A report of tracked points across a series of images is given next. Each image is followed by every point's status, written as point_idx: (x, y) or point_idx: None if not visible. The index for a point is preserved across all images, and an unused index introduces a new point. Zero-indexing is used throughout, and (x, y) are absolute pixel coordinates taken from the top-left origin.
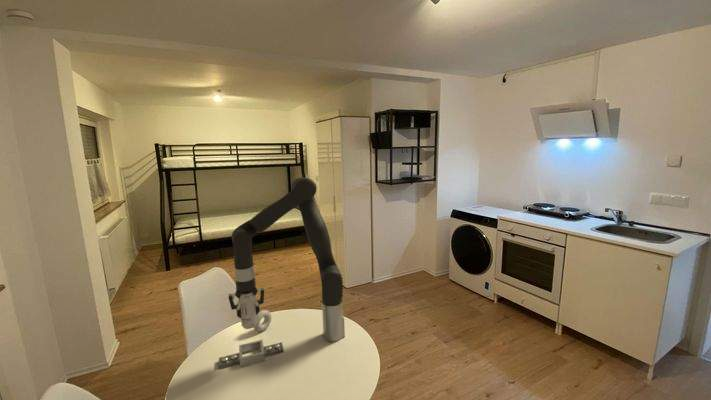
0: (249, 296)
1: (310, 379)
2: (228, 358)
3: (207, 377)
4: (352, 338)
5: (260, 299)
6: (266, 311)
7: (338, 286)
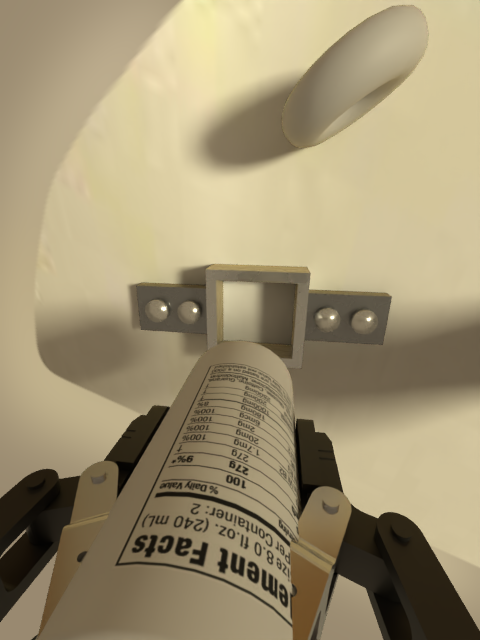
0: None
1: (409, 489)
2: (170, 305)
3: (118, 348)
4: None
5: (388, 562)
6: (406, 49)
7: None
